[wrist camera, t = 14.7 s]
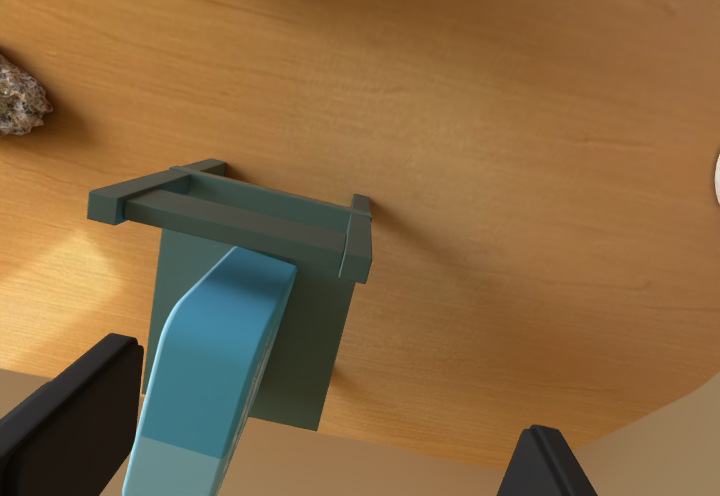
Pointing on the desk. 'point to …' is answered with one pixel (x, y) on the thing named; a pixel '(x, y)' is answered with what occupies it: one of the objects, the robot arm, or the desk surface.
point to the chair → (264, 236)
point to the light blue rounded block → (208, 376)
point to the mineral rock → (20, 100)
